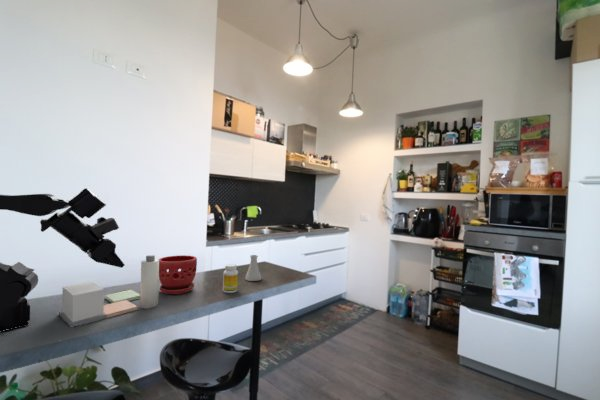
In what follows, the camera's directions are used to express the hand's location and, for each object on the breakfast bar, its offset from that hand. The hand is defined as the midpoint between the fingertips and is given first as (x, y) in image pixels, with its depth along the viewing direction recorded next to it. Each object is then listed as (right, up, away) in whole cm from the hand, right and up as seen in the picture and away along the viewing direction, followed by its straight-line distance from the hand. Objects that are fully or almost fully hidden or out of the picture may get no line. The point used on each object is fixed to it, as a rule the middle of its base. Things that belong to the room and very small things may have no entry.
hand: (119, 263), depth 89 cm
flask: (+36, -14, +34) cm, 51 cm away
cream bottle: (+8, -14, +2) cm, 16 cm away
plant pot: (+11, -14, +17) cm, 24 cm away
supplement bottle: (+30, -14, +18) cm, 38 cm away
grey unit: (-6, -13, -7) cm, 16 cm away
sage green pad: (-3, -13, +7) cm, 16 cm away
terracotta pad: (+1, -13, -2) cm, 14 cm away
